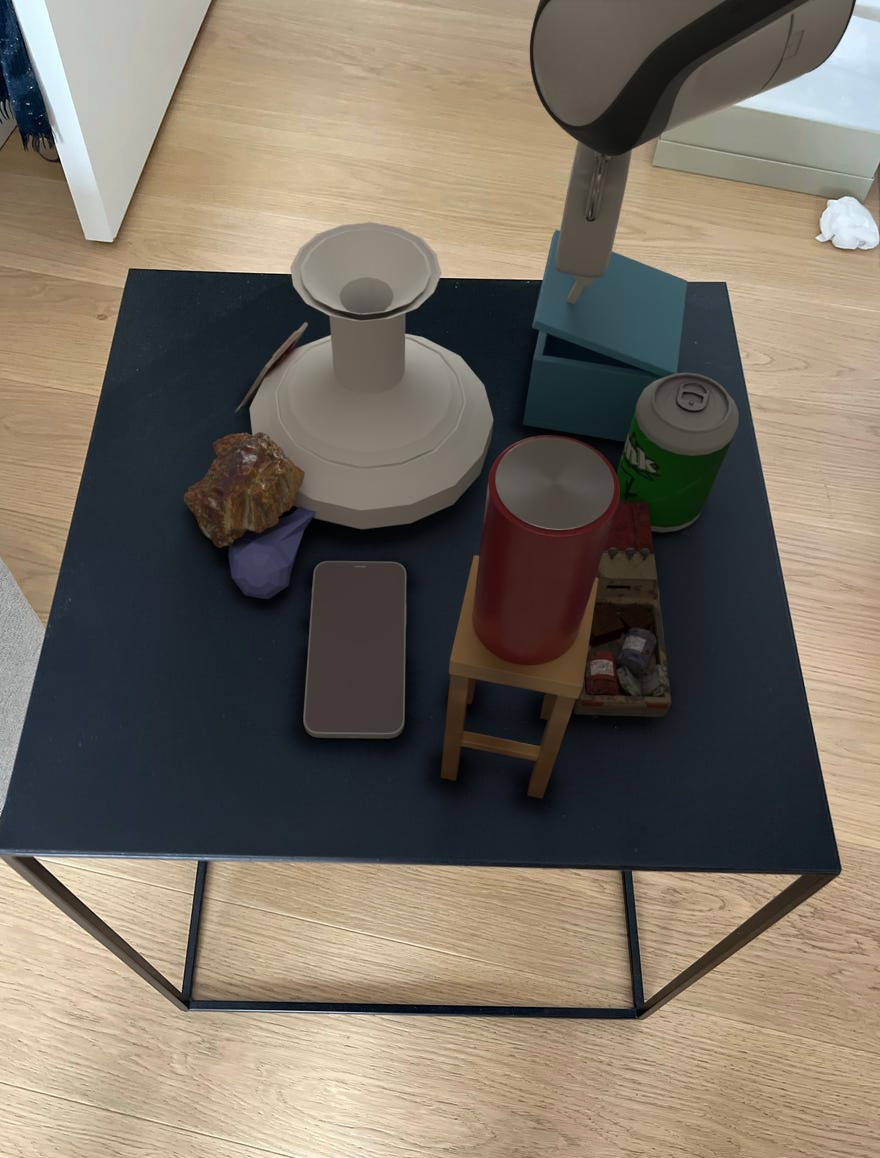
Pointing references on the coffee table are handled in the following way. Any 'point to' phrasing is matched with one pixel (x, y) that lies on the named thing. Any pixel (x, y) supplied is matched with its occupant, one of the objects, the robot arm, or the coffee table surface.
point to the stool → (552, 678)
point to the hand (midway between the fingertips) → (584, 247)
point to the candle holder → (373, 387)
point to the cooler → (582, 390)
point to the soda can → (676, 447)
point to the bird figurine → (268, 555)
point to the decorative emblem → (273, 363)
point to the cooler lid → (616, 311)
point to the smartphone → (356, 651)
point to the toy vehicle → (626, 625)
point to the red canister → (541, 546)
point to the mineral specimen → (244, 488)
